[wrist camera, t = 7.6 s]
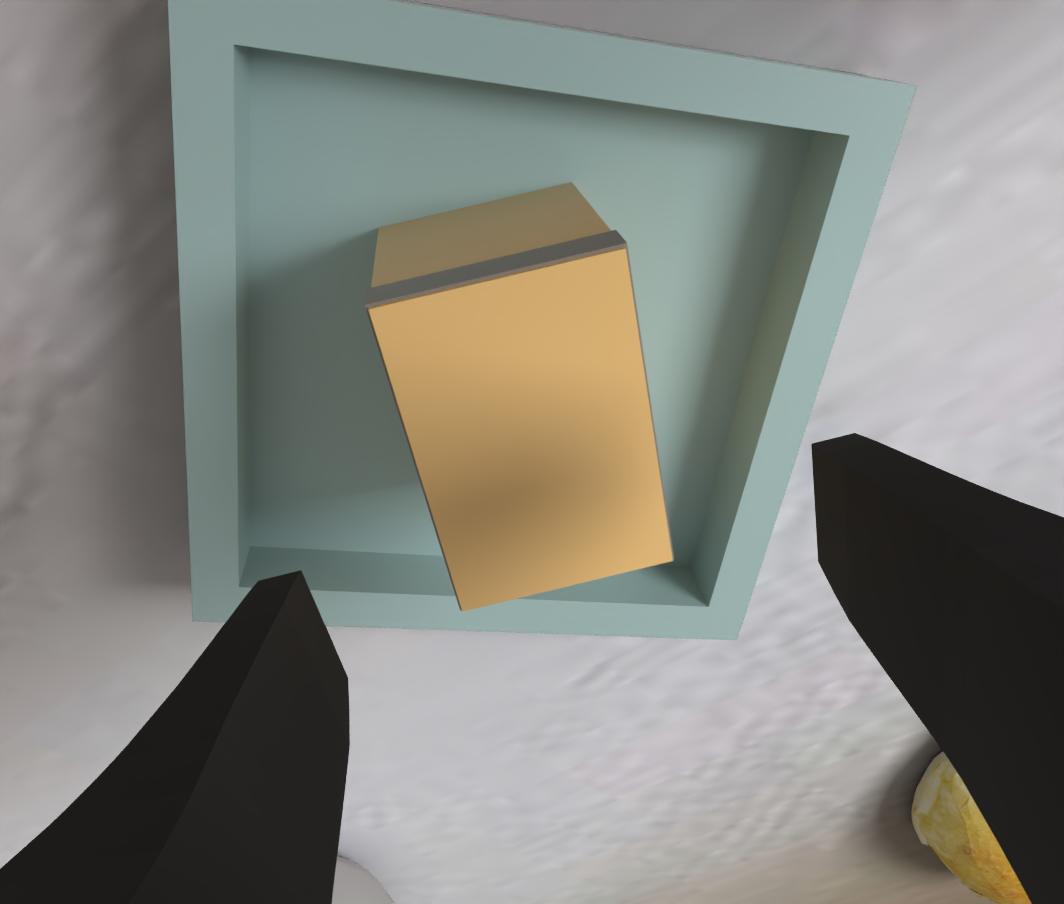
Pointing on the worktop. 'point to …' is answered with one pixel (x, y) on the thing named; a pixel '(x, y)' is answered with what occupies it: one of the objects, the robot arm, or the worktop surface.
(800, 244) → the parts tray
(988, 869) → the bread roll
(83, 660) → the worktop surface
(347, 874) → the plastic bottle
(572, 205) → the tan box
